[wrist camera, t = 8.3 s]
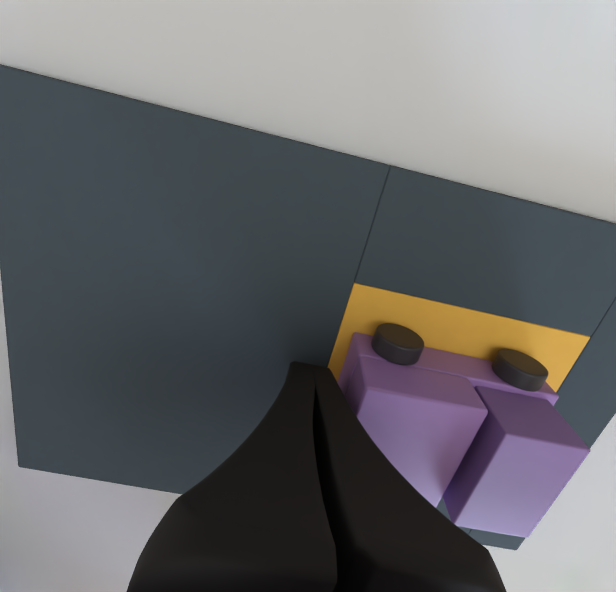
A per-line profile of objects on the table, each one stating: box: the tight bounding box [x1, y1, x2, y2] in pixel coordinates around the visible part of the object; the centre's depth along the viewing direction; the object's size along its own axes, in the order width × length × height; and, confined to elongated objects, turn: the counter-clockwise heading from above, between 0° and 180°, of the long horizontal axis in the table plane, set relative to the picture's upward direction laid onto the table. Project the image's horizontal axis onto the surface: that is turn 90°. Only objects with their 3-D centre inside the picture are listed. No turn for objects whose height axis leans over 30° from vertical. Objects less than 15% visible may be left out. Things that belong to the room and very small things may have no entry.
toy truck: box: [338, 323, 590, 538], centre depth 12 cm, size 6×5×3 cm
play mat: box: [0, 64, 616, 550], centre depth 13 cm, size 21×14×1 cm, turn 76°
